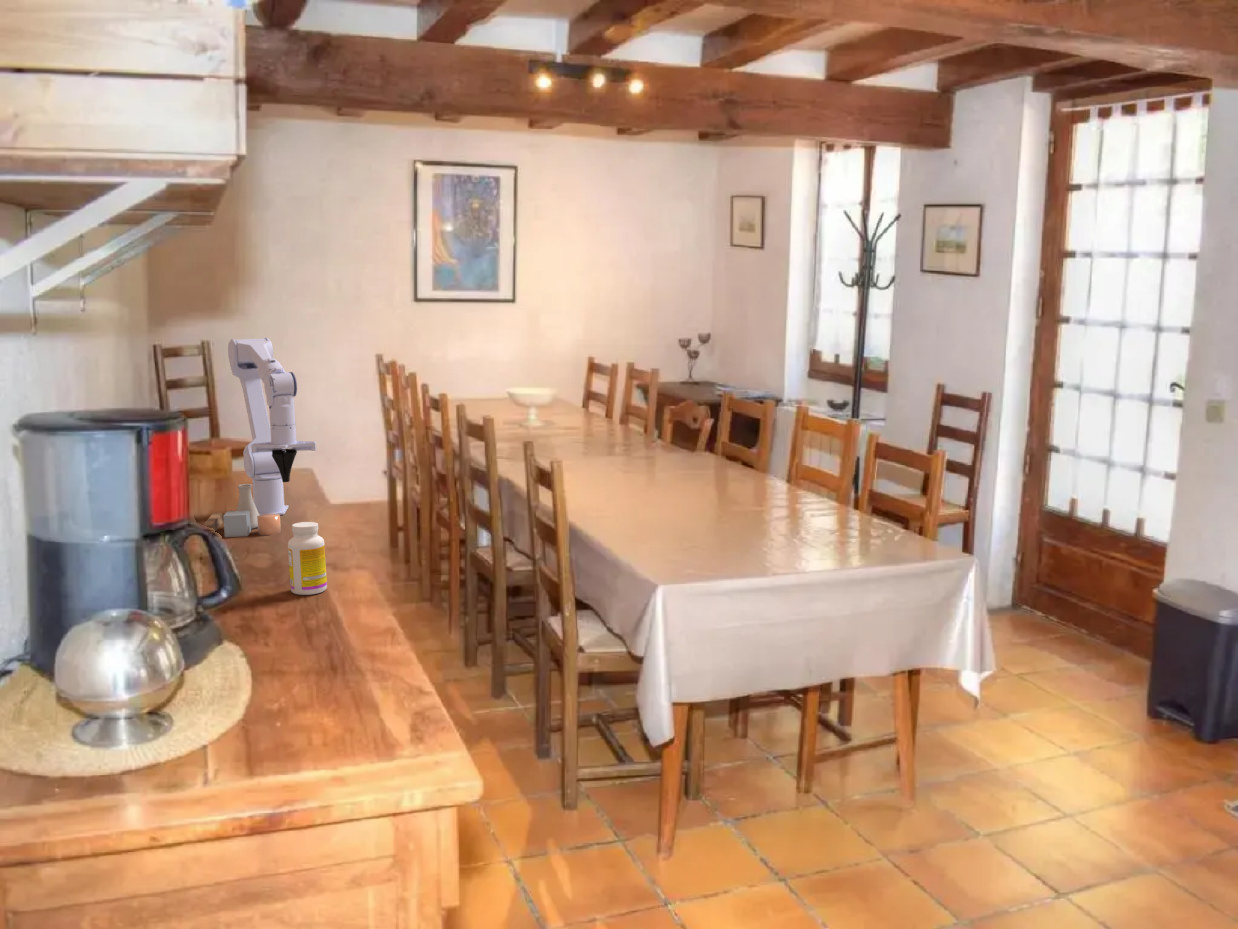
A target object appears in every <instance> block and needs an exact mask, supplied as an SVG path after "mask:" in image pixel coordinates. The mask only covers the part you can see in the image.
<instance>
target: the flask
mask: <svg viewBox="0 0 1238 929" xmlns="http://www.w3.org/2000/svg"><path fill="white" fill-rule="evenodd" d="M252 488H253V483H252V484H251V483H243V484H238V485H237V489H238V492H239V493H238V494H239V496H238V503H237V506H236V510H235V511H246V510H250V523H251V530H252V529H256V528H258V521H257V516H259V513H258V511H257V508H256V506H255V504H254V498H253V493H252Z"/></svg>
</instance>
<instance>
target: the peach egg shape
mask: <svg viewBox="0 0 1238 929" xmlns="http://www.w3.org/2000/svg"><path fill="white" fill-rule="evenodd" d="M257 521H258V527H257V532H258V535H260V536H273V535H278V534H281V533H282V530H281V529H282V526H281V515H279V514H262V515H259V516H257Z"/></svg>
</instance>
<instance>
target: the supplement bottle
mask: <svg viewBox="0 0 1238 929" xmlns="http://www.w3.org/2000/svg"><path fill="white" fill-rule="evenodd" d="M318 530H319V523H318V522H314V521H304V522H303V521H301V522H296V523H292V525H291V532H292V534H293V536H292V537H291V538H290V539H289V540H288V542H287V551H288V552H287V553H288V554H287V556H288V569H289V570H288V571H289V584H290V591H291V593H293V594H294V595H299V596H312V595H317V594H320V593H322V592H323V593H324V592H325V591H326V590H327V588H328V580H327V566H326V565H327V564H326V561H327V560H326V548H325V546H326V544H325V539H324V538H323V537H322V536H320V535H319V534H318Z"/></svg>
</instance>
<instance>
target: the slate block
mask: <svg viewBox="0 0 1238 929" xmlns="http://www.w3.org/2000/svg"><path fill="white" fill-rule="evenodd" d="M222 519H223V530H224V538H230V537H231V538H233V537H234V538H235V537H248V536H250V533H251V531H252V529H251V523H250V510H246V511H236V510H231V511H230V510H229V511H226V512H225V513H224V514H223V515H222Z"/></svg>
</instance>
